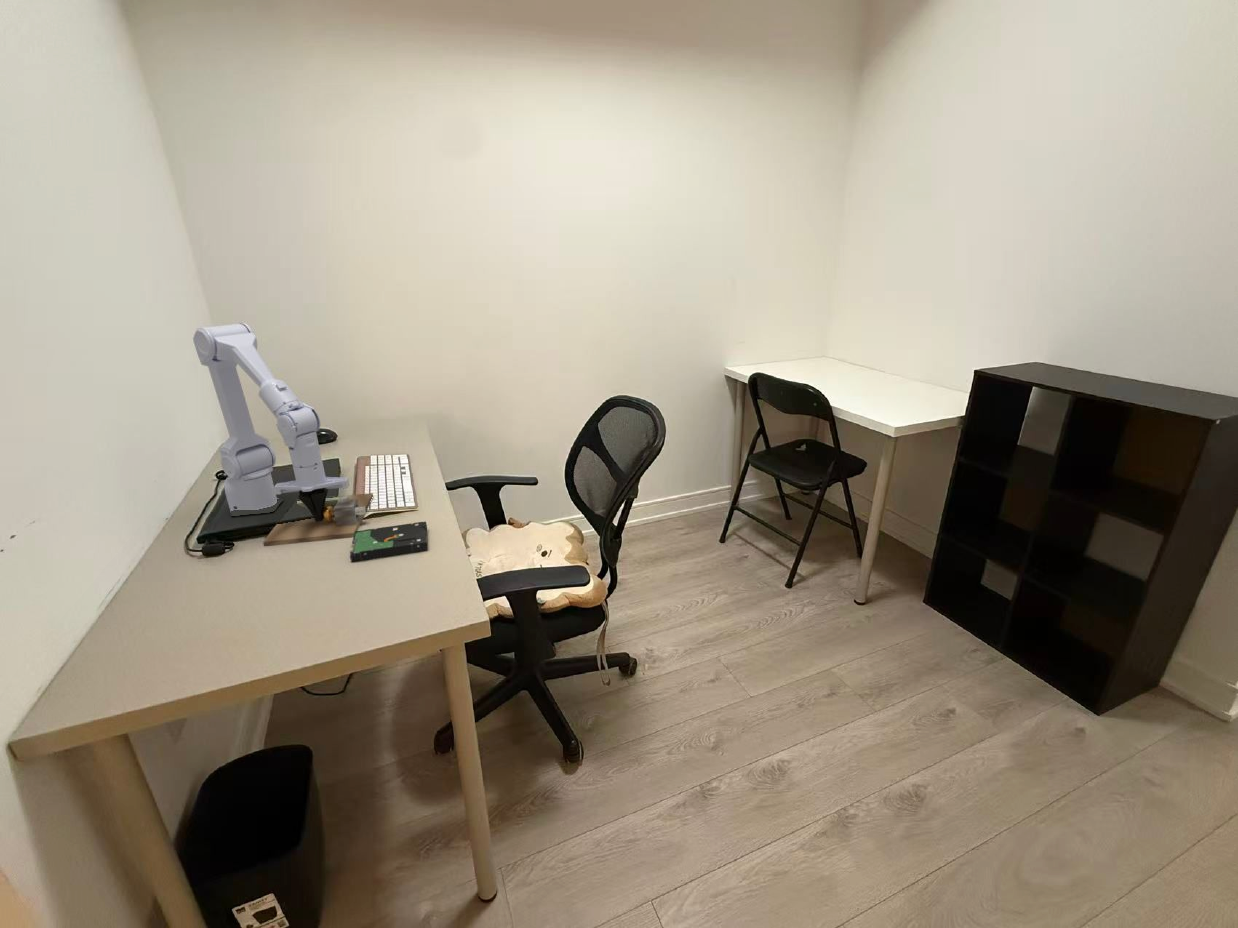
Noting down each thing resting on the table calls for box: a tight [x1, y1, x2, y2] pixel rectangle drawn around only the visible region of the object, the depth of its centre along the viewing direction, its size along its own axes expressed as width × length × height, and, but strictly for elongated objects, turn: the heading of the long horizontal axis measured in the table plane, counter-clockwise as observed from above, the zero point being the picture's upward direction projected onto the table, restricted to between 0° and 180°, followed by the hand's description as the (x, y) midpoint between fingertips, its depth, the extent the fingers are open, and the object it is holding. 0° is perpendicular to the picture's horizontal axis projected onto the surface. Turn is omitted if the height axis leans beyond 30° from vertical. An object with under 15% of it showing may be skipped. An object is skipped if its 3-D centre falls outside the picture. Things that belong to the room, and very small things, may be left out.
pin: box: [324, 506, 367, 522], centre depth 128 cm, size 8×3×3 cm, turn 102°
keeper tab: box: [297, 497, 342, 509], centre depth 133 cm, size 9×6×1 cm
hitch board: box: [262, 492, 374, 547], centre depth 131 cm, size 18×22×5 cm
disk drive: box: [349, 520, 429, 563], centre depth 120 cm, size 10×3×15 cm
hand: (320, 519), depth 128 cm, fingers closed
